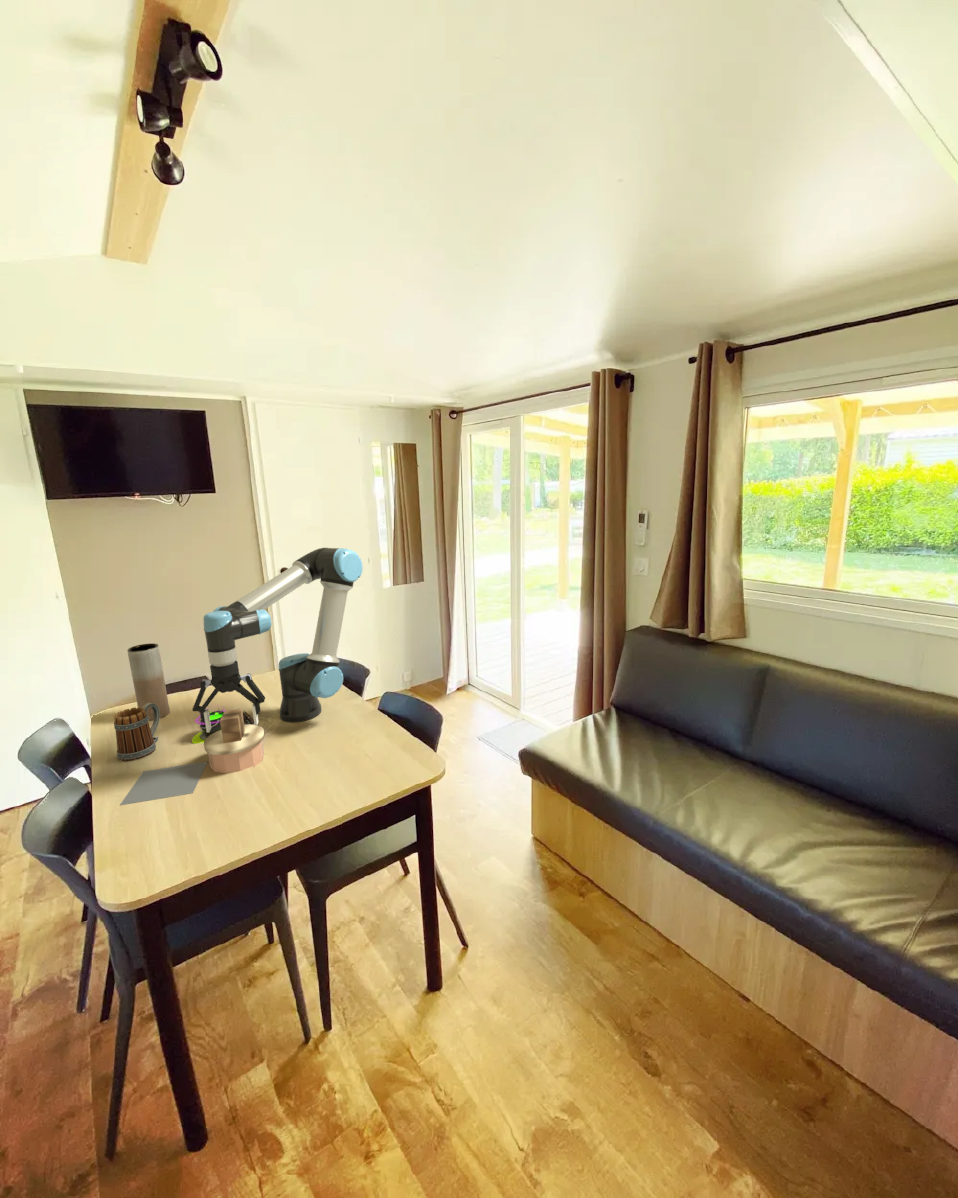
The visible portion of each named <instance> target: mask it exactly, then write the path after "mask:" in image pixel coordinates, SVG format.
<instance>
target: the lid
mask: <svg viewBox="0 0 958 1198" xmlns="http://www.w3.org/2000/svg"><path fill="white" fill-rule="evenodd" d="M223 712H224V711H223ZM220 724H221V730H219V731H217V732H215V733H213V734H212V735H210V736H209V737H208V738H207V739H206V740H205V741H204V743H203V747H204V751H205V752H206V753H207V754H208V753H209V754H213V755H228V754H234V753H238V752H242V751H245V750H247V749H250V748H252V747H254V746H256V745H257V744H259V743H260V742H261V741H263V740H264V738H265V730H264V728H263V727H261V725H257V726H255V725H254V724H248V723H247V724H245V723H244V713H243V708H237V709H231V710H227V711H226V710H225V712H224V714H223V716H222V717H221V719H220Z"/></svg>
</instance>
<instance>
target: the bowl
mask: <svg viewBox="0 0 958 1198" xmlns="http://www.w3.org/2000/svg"><path fill="white" fill-rule="evenodd" d="M207 754H208V763H209V767H210V769H211V770H212V771H213V772H215V773H220V774H229V773H230V774H231V773H236V772H241V771H244V770H246V769H248V768H251V767H253V768H255V767H257V765H259V764H260V763H262V762H263V761H264V757H265V748H264V743H263V740H262V741H261V742H260V743H259V744H257V745H256V746H254V747H252V748H250V749H247V750H245V751H242V752H238V753H234V754H228V755H213V754H209V753H207Z"/></svg>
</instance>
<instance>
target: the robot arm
mask: <svg viewBox="0 0 958 1198" xmlns="http://www.w3.org/2000/svg"><path fill="white" fill-rule="evenodd" d="M363 567H364V566H363V562H362V559H361V558H360V556H359V554H358V553H357V552H356V551H355V550H352V549H348V548H341V547H340V548H339V547H337V548H335V547H334V548H333V547H321V548H317V549H314V550H312V551H310V552H309V553H306V554H304V555H303V556H301V557H300V558H298V559H296V560H294V561H293V562H292V564H291V567H289V568H287V569H286V570H284V571H282V572H280V573H279V574H277V575H275V576H274V577H273V578H271V579H270V580H267V581H266V582H265V583H263V584H261V585H260V586H259V587H256V588H255V589H254V590H252V591H251V592H248V593H247V594H245V595H244V596H242V597H240V598H239V599H237V600H236V601H234V602H232V603H230V604H229V605H226V606H224V605H223V606H218V607H216V608H215V609H214V610H213V611H211V612H207V613H205V615H204V616H203V632H204V636H205V640H206V647H207V655H208V662H209V664H210V666H209V669H210V675H211V679H206V678H202V680H201V681H200V684H199V685H200V686H199V687H200V689H199V691H198V694H197V696H196V699H195V702H194V704H193V707H192V712H198V713H199V716H201V718H200V721H202V722H205V725H206V731H207V733H208V732H210V730H211V722H210V715H209V713H210V708H208V707H209V706H210V704H211V702H212V700H213V699H214V698H215V697H216V696H217V694H218V693H219V692H220V693H221V694H223V693H224V694H225V693H226V692H227V693H231V692H234V691H235V692H237V693H239V694H240V695H242V697H244V698H245V699H246V700H248V701H249V702H250V703H251V704H252V706H251V708H252V709H251V710H252V718H253V725H255V726H257V725H258V724H259V717H258V715H260V714H261V704H262V703H265V700H266V696H265V695H264V694H263V692H262V691H261V690H260V688H259V687H258V686H257V684H256V683H255V682H254V680H253V678H252V675H251V673H247V674H245V675H240V670H239V664H238V661H237V659H238V656H237V649H236V648H237V647H236V641H237V640H241V639H245V638H250V637H253V636H256V635H257V636H258V635H261V634H264V633H267V632H269V631H270V630H271V628H272V617H271V615H270V614H269V612H268V611H267V610H266V609H268V608H270V607H271V606H272V605H274V604H275V603H277V602H278V601H280V600H282V599H283V598H284V597H286V596H287V595H289V594H290V593H293V592H294V591H295V590H296V589H298V588H299V587H301V586H303V585H305V584H306V585H309V584H311V583H313V582H314V581H316V580H320V581H319V582H320V584H321V586H322V587H323V589H322V595H321V601H320V604H319V605H320V607H319V611H318V617H317V622H316V623H317V624H316V629H315V634H314V639H313V645H312V650H311V651H312V652H311V653H307V652H306V653H296V654H292V655H289V656H288V655H287V656H285V657H283V658H281V659H280V660H279V662H278V671H279V680H280V687H281V694H282V696H281V697H282V698H281V703H280V708H279V711H278V712H279V718H280V720H281V721H283V722H287V723H299V722H304V721H308V720H312V719H314V718H316V717H317V716H320V714H321V713H322V704H321V702H320V700H319V698H321V699H328V698H331V697H333V696H334V695H335V694H336V693H338V692H339V691H340V689H341V688H342V686H343V683H344V673H343V672H342V670H341V669H340V668H339V667H340V661H341V660H339V658H338V657H337V653H338V647H339V643H340V636H341V631H342V625H343V620H344V615H345V614H344V613H345V608H346V602H347V597H348V593H349V591H351V590H352V589H353V587H354V583H355V582H357V581H358V580H359V579H360V577H361V576H362V574H363V571H364V568H363ZM241 681H243V682H244V683H246V684H247V686H248V688H250V690H251V692H250V691H249V690H248V689H246V688H245V687H244V685H243V684H241ZM210 685H211V686H212V687H214V689H213V690H212V692H211V694H209V696H208V697H207V698H206V700H204V703H203V704H202V705H200V704H201V702H202V699H203V698H204V696H205V692H206V690H207V688H208V687H209V686H210ZM258 726H259V725H258Z"/></svg>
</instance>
